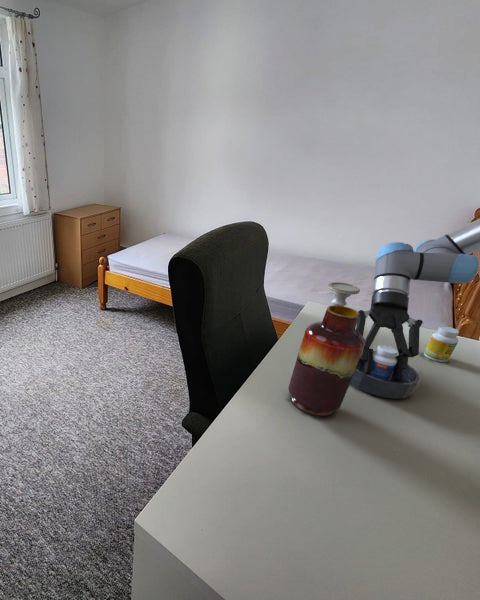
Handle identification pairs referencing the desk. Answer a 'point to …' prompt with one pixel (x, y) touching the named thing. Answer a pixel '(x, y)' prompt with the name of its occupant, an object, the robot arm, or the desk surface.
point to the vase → (326, 362)
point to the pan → (386, 383)
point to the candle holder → (342, 292)
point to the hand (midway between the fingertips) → (381, 376)
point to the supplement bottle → (442, 344)
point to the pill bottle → (383, 362)
